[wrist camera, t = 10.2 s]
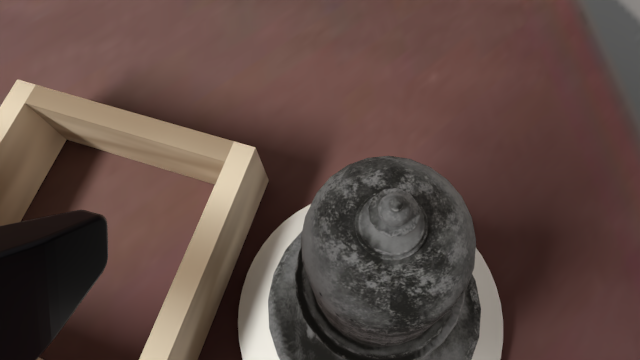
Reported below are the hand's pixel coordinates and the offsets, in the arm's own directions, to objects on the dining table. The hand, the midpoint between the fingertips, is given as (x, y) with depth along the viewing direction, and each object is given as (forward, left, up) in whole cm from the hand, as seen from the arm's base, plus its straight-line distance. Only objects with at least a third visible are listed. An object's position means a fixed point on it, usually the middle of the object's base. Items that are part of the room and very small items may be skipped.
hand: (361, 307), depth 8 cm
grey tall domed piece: (+1, 0, -10) cm, 10 cm away
